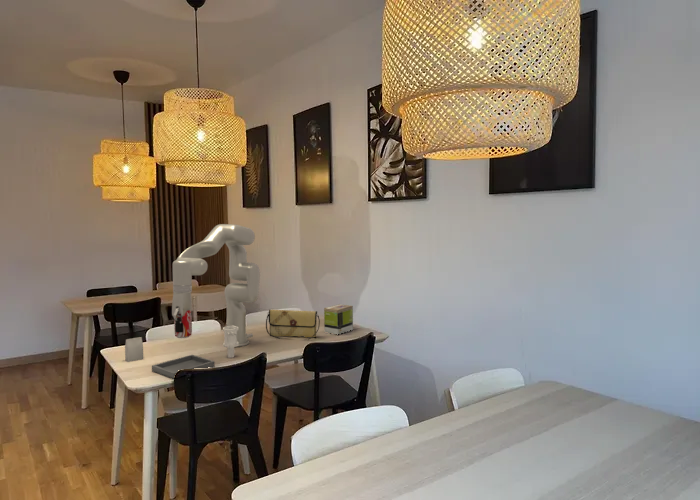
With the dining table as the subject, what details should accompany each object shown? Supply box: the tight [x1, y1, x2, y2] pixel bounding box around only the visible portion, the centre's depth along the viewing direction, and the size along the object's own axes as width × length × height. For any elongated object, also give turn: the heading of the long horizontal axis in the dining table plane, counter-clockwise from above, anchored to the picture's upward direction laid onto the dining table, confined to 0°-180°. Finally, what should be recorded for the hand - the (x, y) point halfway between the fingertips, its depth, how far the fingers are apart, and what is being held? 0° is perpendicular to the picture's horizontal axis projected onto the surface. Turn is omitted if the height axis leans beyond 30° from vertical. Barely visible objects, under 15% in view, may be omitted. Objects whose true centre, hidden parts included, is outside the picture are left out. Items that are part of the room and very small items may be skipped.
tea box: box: [323, 303, 354, 336], centre depth 268 cm, size 15×10×15 cm, turn 144°
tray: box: [151, 354, 215, 380], centre depth 201 cm, size 20×16×2 cm
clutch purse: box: [265, 309, 321, 340], centre depth 253 cm, size 30×7×15 cm, turn 83°
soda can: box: [173, 309, 193, 339], centre depth 200 cm, size 7×7×12 cm
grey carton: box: [124, 336, 144, 363], centre depth 213 cm, size 4×7×10 cm, turn 132°
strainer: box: [222, 325, 239, 359], centre depth 219 cm, size 7×7×15 cm
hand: (183, 329), depth 200 cm, fingers closed on soda can, 6 cm apart
